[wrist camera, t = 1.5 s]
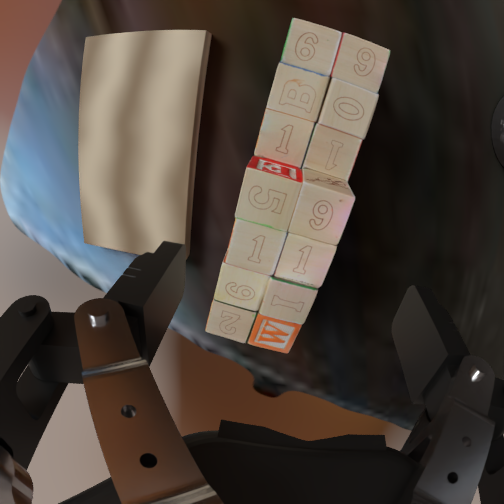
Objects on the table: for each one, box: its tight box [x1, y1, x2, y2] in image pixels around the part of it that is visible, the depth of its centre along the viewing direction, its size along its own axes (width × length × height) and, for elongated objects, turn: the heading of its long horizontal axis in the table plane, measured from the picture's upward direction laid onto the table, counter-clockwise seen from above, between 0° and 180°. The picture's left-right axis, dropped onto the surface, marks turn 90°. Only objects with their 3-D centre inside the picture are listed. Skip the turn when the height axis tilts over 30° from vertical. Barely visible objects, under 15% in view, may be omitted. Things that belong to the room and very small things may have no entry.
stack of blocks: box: [206, 18, 390, 353], centre depth 22 cm, size 21×6×12 cm, turn 165°
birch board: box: [79, 30, 212, 259], centre depth 27 cm, size 12×22×2 cm, turn 172°
